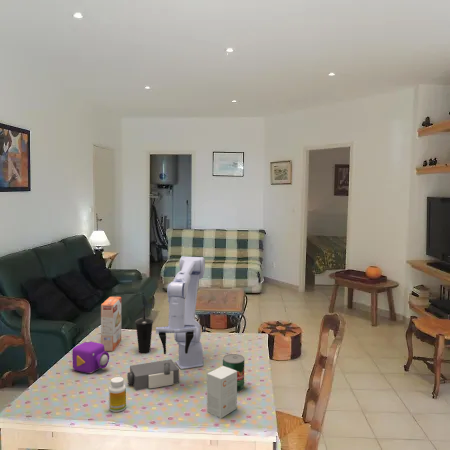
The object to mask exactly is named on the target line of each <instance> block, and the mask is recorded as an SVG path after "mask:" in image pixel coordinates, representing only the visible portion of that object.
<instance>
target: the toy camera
mask: <svg viewBox="0 0 450 450" xmlns="http://www.w3.org/2000/svg"><path fill="white" fill-rule="evenodd" d="M71 351H72V353H71V354H72V369H73V370H74V371H76V372H80V373H86V374H92V373H94V372H96V371H97V370H99V369H105V368H106V367H107V366H108V364H109V361H110V354H109V351H105V350H104V345H103V344H101V342H95V341H91V340H89V339H88V340H87V339H86V340H85V341H83V342H82V343H80V344H77V345H75V346H74V347H73V348H72V350H71Z"/></svg>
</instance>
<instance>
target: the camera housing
mask: <svg viewBox="0 0 450 450" xmlns="http://www.w3.org/2000/svg"><path fill="white" fill-rule="evenodd" d="M165 363H170V371H173V385H174V384H179V383H180V369H179V367H178V365H177V364H176V363H175V361H173V360H172V359H165V360H159V361H151V362H144V363H139V364H132V365H129V372H127V374H126V375H127V376H126V379H127V384H128V385H132V386H133V387H134V390H135V391H139V390H145V389H149V388H148V375H152V374H158V373H164V364H165Z"/></svg>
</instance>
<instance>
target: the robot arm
mask: <svg viewBox="0 0 450 450" xmlns="http://www.w3.org/2000/svg"><path fill="white" fill-rule="evenodd" d="M178 267H179V270H180V271H178V272H177V273H176V274H175V277H174V278H173V280H172V281H171V282H168V283H167V290H166V291H167V293H166V295H167V303H168V324H167V326H158V327H157V326H156V327H155V334H156V335H158V337H159V339H160V341H161V345H162V349H163V355H166V354H167V334H173V338H174V341H175V342H176V343H177V344H176V345H178V360H175V361H174V363H175V364H176V366H177V367H178V368H180V369H179V370H185V369H192V368H197V367H199V368H200V367H204V364H203V362H204V361H203V360H204V359H203V358H204V354H203V353H204V350H203V345H202V342H201V336H202V333H201V330H202V329H201V323H199V321H197V320H196V309H197V297H198V290H199V289H198V288H199V283H200V280H201V279H203V278H204V276H205V267H206V260H205V257H204V256H184V255H182V256H181V257H180V258H179V266H178Z"/></svg>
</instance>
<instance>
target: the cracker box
mask: <svg viewBox="0 0 450 450" xmlns="http://www.w3.org/2000/svg"><path fill="white" fill-rule="evenodd" d="M120 342H122V297H121V296H109V297H108V298H107V299H106V300H104V302H103V303H101V305H100V343H101V344H103V345H104V350H105V351H106V352H114V351H115V349H116V348H117V347H118V345H119V344H121V343H120Z"/></svg>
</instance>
